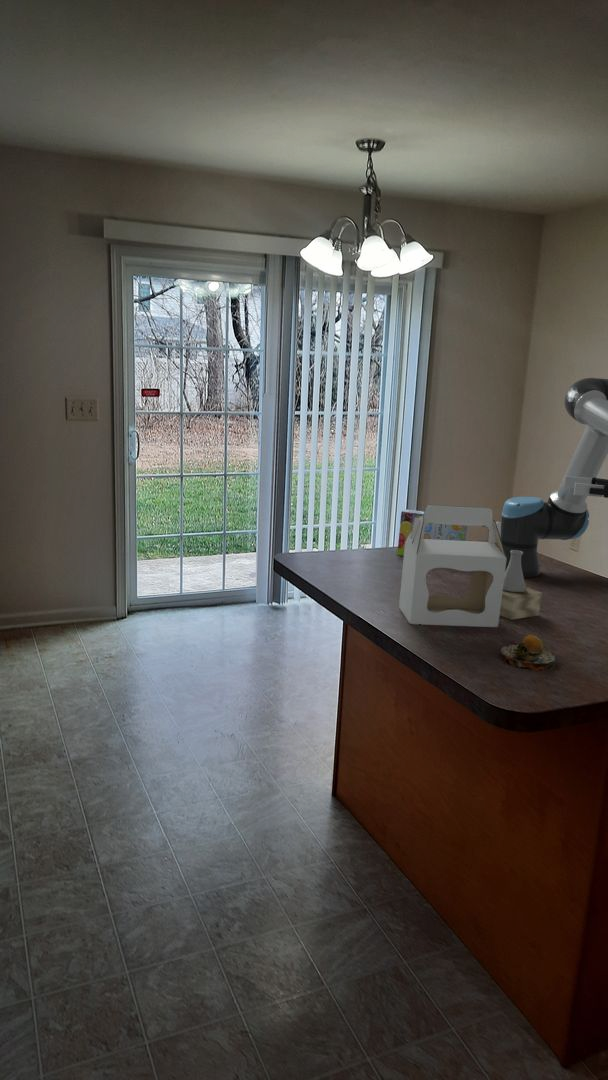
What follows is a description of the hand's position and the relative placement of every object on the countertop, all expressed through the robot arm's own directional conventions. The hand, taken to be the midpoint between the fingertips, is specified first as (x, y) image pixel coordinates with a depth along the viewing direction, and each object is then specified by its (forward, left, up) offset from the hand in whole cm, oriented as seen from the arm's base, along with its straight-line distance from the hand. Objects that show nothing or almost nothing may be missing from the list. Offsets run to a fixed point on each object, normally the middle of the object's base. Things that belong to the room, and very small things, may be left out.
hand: (569, 485), depth 192 cm
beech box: (+8, -7, -34) cm, 35 cm away
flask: (+8, -7, -28) cm, 30 cm away
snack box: (-10, -60, -34) cm, 70 cm away
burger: (+31, +20, -34) cm, 51 cm away
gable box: (+27, -9, -34) cm, 45 cm away
